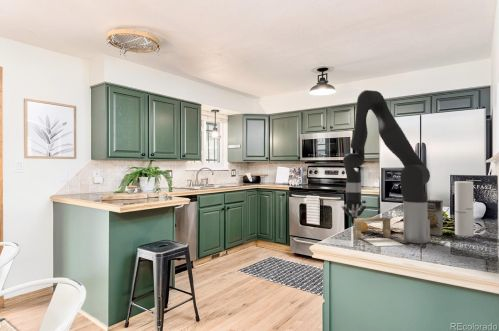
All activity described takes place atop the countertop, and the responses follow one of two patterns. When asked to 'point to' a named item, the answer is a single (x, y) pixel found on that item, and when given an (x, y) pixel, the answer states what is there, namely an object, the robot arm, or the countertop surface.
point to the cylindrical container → (464, 208)
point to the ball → (364, 227)
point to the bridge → (358, 221)
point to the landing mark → (383, 242)
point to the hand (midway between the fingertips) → (353, 223)
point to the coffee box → (435, 216)
